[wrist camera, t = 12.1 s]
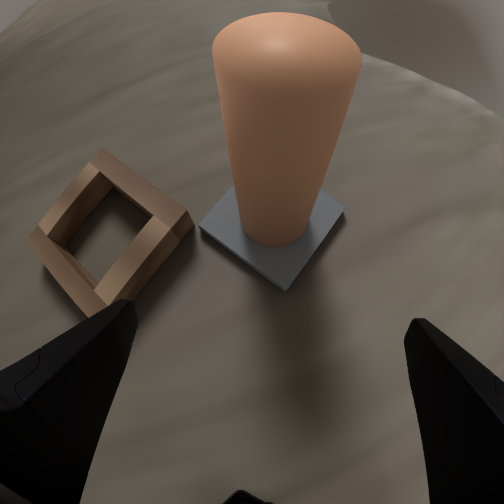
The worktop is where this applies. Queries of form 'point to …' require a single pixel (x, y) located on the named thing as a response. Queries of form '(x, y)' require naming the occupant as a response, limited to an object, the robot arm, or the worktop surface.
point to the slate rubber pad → (267, 258)
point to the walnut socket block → (138, 251)
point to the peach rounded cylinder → (282, 115)
